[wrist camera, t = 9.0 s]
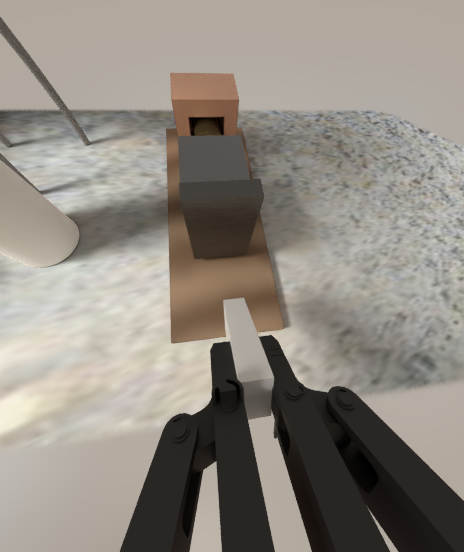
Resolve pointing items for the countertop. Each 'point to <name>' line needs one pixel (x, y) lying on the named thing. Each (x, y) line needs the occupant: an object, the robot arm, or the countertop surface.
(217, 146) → the metal sleeve
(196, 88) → the terracotta socket
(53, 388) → the countertop surface
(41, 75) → the citrus juicer
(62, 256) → the cylindrical container
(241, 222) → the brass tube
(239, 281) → the walnut board
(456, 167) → the countertop surface
